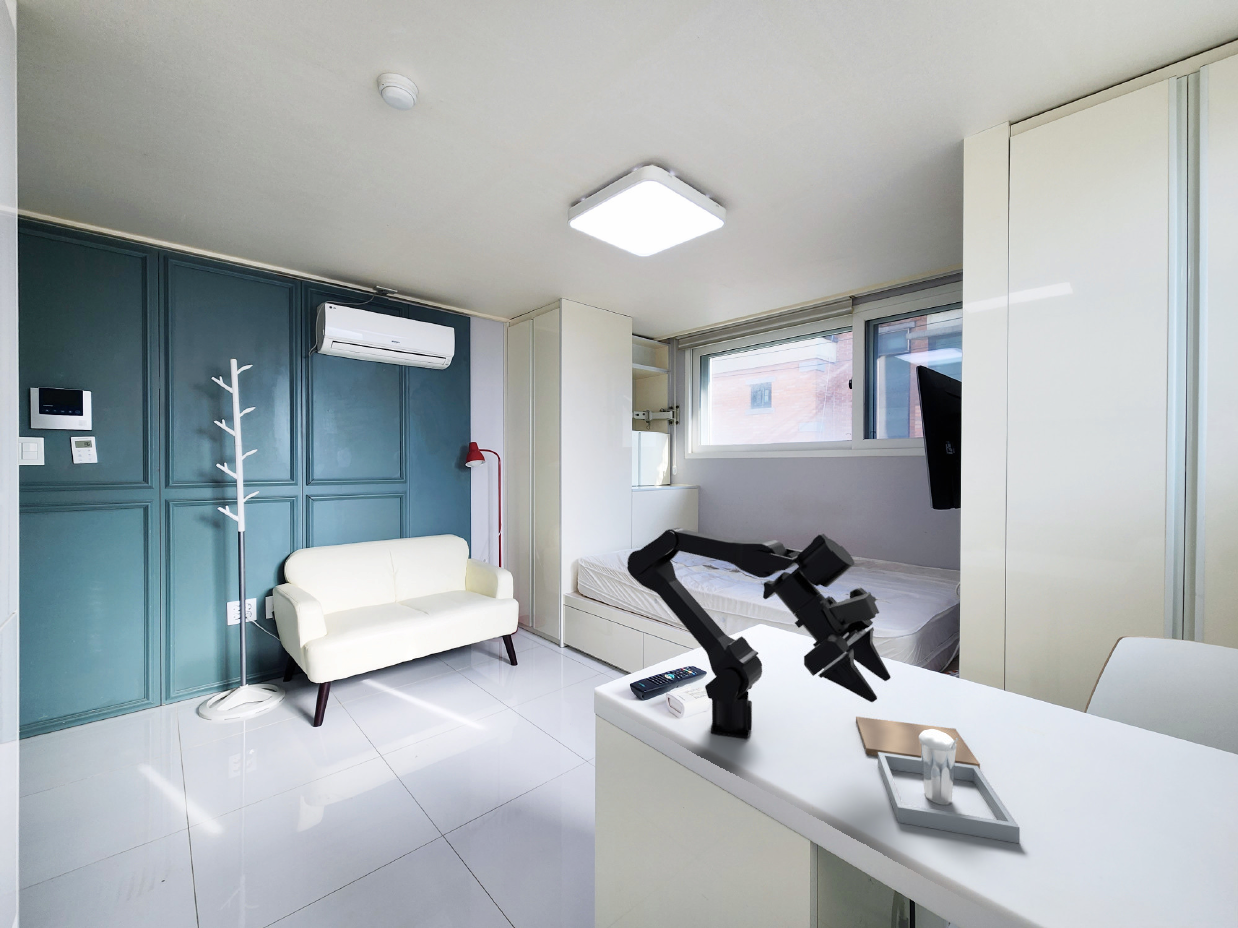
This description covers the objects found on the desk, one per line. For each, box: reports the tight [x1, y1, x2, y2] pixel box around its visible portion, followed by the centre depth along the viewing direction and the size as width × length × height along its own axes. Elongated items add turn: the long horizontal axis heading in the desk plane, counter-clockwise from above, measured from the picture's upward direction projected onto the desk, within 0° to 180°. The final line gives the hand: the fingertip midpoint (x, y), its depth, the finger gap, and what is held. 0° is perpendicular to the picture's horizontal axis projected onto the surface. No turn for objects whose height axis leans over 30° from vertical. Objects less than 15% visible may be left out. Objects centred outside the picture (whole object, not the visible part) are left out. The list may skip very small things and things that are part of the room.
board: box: [855, 716, 981, 770], centre depth 87 cm, size 16×11×1 cm
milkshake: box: [919, 729, 958, 806], centre depth 72 cm, size 4×5×10 cm
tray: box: [877, 752, 1020, 844], centre depth 72 cm, size 14×14×2 cm
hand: (881, 689), depth 77 cm, fingers open, 9 cm apart
